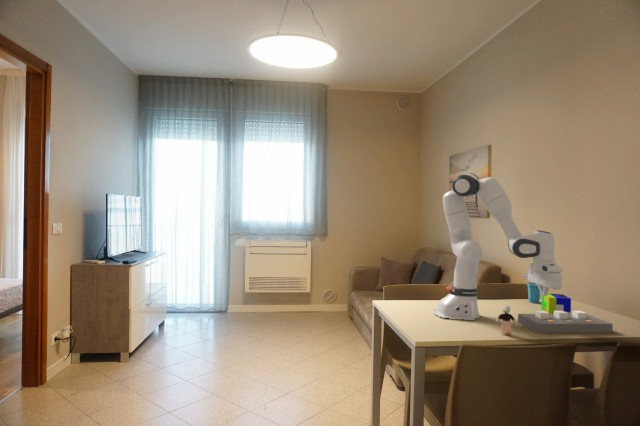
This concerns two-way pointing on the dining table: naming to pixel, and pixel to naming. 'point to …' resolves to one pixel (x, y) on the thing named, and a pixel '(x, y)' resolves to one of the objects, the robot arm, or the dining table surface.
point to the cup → (533, 291)
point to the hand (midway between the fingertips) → (543, 295)
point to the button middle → (561, 314)
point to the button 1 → (542, 314)
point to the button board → (565, 324)
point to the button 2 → (579, 314)
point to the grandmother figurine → (506, 320)
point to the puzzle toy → (556, 303)
